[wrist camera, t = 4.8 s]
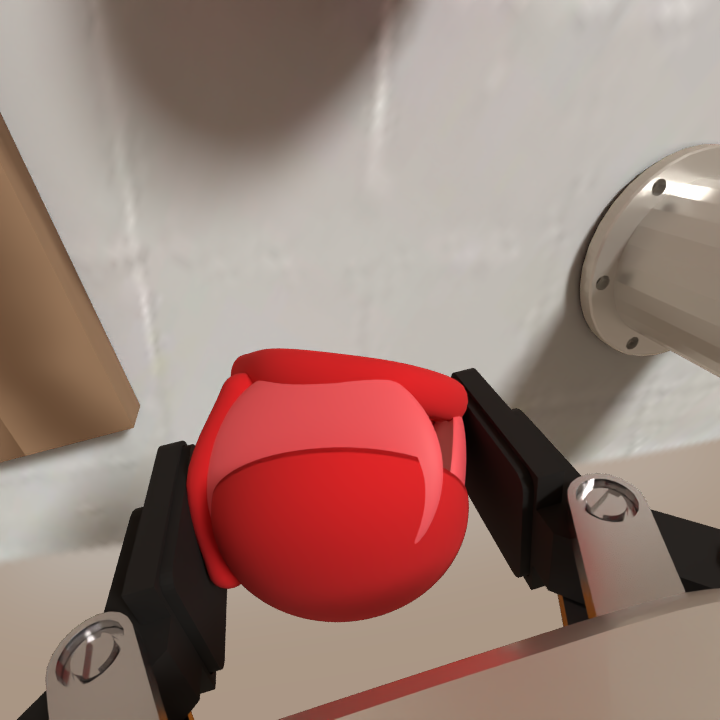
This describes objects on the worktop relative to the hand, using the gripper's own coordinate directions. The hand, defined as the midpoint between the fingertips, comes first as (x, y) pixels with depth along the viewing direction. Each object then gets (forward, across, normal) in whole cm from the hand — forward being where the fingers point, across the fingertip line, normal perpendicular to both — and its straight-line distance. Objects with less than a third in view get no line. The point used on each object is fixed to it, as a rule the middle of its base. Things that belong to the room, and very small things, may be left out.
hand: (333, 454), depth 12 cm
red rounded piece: (+2, 0, 0) cm, 2 cm away
